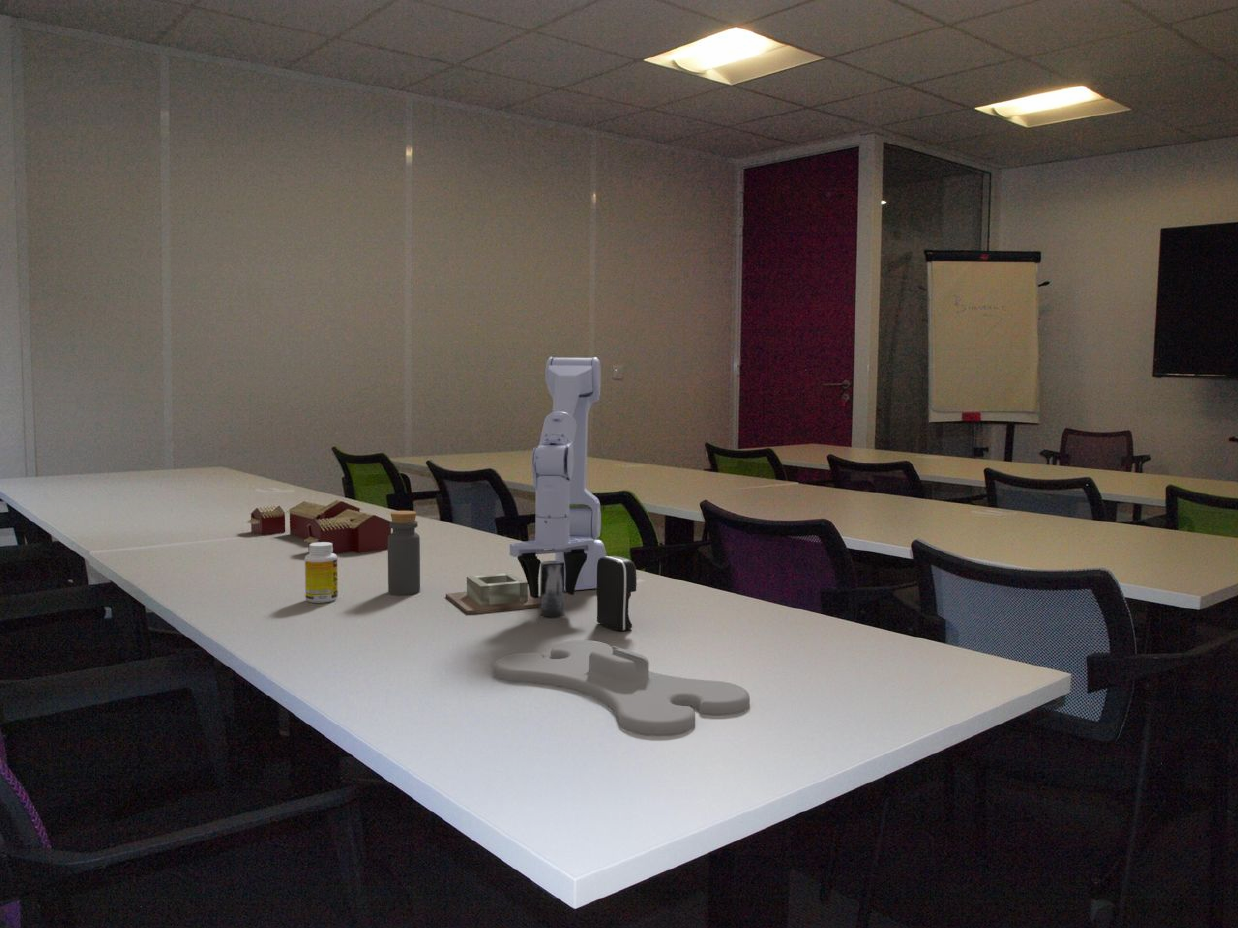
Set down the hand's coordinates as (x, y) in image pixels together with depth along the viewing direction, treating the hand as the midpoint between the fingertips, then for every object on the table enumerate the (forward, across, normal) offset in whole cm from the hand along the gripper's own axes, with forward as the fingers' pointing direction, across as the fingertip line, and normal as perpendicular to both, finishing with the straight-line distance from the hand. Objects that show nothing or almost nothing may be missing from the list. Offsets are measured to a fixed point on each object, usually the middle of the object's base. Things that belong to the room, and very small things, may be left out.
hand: (552, 595), depth 160 cm
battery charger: (+4, +7, -11) cm, 14 cm away
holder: (+4, -6, -38) cm, 39 cm away
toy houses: (+4, -26, +91) cm, 95 cm away
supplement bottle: (+4, -34, +26) cm, 43 cm away
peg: (+3, 0, 0) cm, 3 cm away
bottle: (+4, -19, +27) cm, 33 cm away
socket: (+3, -6, +13) cm, 15 cm away
